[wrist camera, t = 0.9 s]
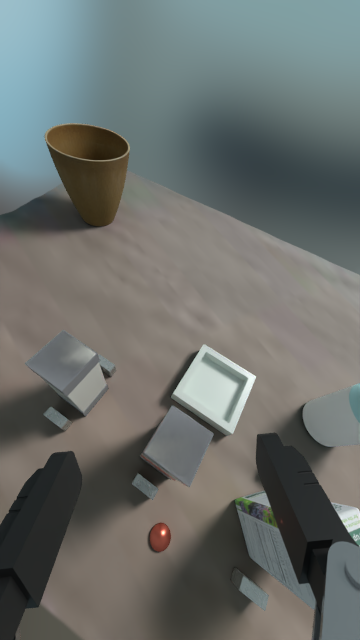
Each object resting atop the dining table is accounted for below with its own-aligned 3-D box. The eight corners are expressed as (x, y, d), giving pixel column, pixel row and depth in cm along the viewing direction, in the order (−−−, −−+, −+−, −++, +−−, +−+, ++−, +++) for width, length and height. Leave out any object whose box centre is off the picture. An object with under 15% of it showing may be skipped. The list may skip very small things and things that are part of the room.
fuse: (60, 397, 32) (24, 363, 21) (84, 371, 35) (63, 329, 24) (85, 416, 32) (61, 391, 21) (108, 388, 34) (97, 353, 23)
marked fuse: (139, 456, 30) (143, 452, 19) (159, 424, 33) (172, 405, 22) (168, 478, 29) (189, 487, 19) (186, 444, 32) (213, 433, 21)
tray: (170, 397, 35) (172, 393, 33) (200, 350, 40) (203, 344, 38) (226, 435, 33) (232, 434, 31) (249, 381, 39) (255, 376, 37)
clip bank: (25, 443, 29) (17, 441, 27) (107, 353, 37) (106, 347, 35) (247, 625, 24) (258, 641, 22) (284, 475, 32) (295, 475, 30)
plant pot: (62, 235, 50) (37, 152, 36) (70, 197, 57) (51, 117, 44) (131, 239, 53) (130, 164, 40) (129, 203, 61) (128, 130, 47)
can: (303, 441, 35) (370, 432, 25) (297, 396, 39) (354, 373, 29) (344, 451, 35) (428, 446, 25) (335, 405, 39) (404, 385, 29)
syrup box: (270, 487, 31) (358, 502, 19) (289, 544, 28) (408, 605, 16) (233, 499, 29) (302, 523, 17) (249, 561, 26) (346, 641, 14)
